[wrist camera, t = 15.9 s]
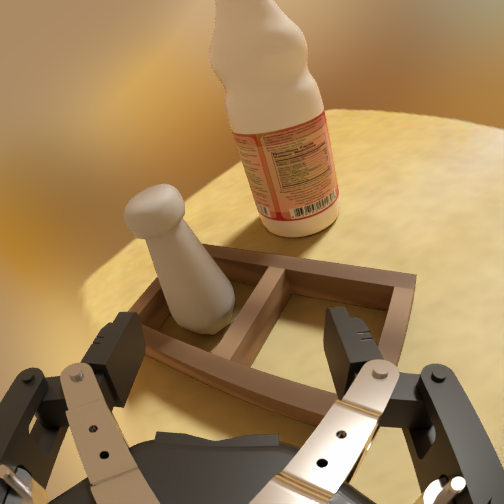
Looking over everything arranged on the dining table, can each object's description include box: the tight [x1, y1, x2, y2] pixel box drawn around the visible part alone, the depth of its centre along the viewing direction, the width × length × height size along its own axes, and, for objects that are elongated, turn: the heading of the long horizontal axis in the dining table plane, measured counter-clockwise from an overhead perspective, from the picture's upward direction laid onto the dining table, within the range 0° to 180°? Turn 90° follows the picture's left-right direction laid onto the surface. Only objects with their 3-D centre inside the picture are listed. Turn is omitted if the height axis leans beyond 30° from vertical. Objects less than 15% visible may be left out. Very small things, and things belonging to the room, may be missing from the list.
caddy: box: [128, 244, 417, 426], centre depth 25 cm, size 12×22×3 cm, turn 61°
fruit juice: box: [209, 0, 340, 237], centre depth 28 cm, size 9×9×28 cm
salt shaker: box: [123, 184, 235, 335], centre depth 24 cm, size 6×6×13 cm
